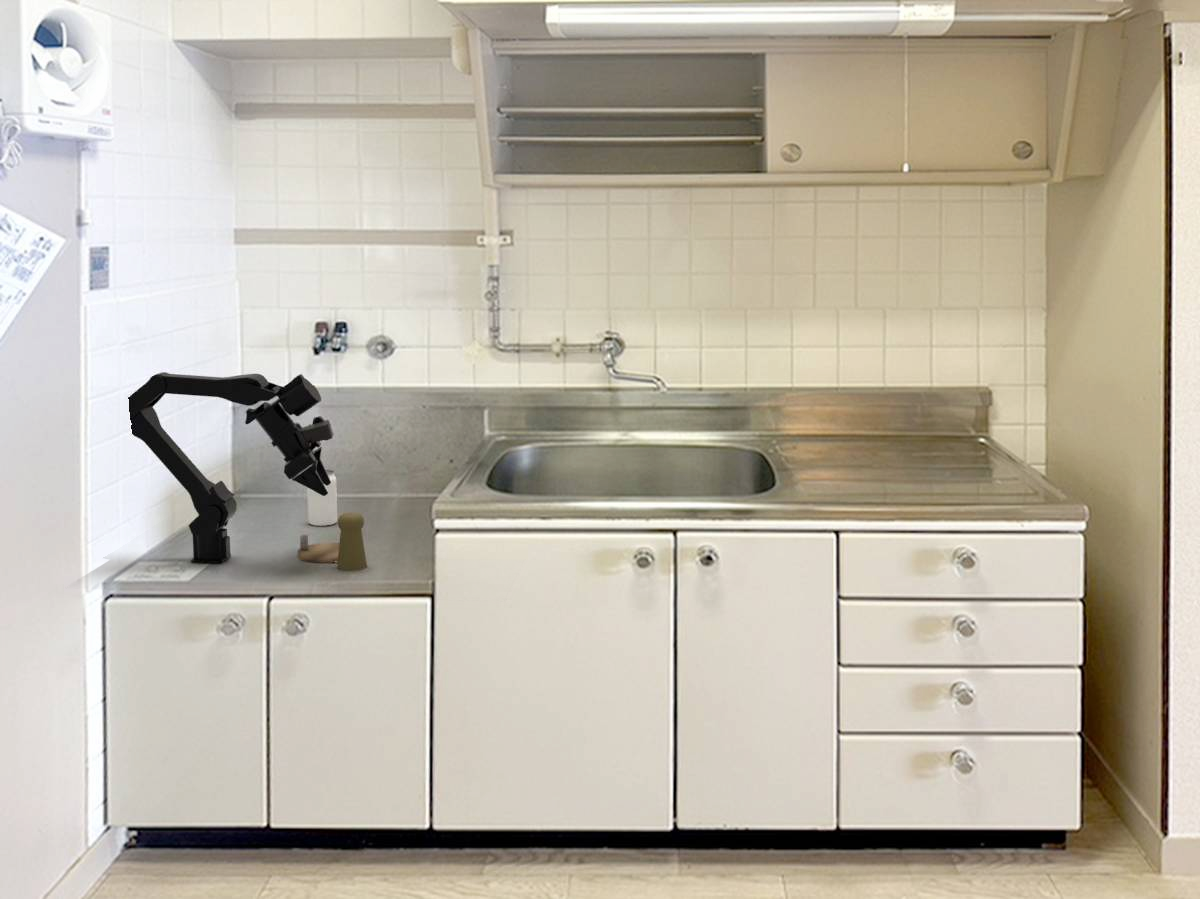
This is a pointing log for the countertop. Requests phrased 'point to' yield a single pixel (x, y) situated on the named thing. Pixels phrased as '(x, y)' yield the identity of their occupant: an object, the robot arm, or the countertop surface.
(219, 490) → the robot arm
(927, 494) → the countertop surface
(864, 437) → the countertop surface
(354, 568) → the cork
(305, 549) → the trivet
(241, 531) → the countertop surface
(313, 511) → the can
